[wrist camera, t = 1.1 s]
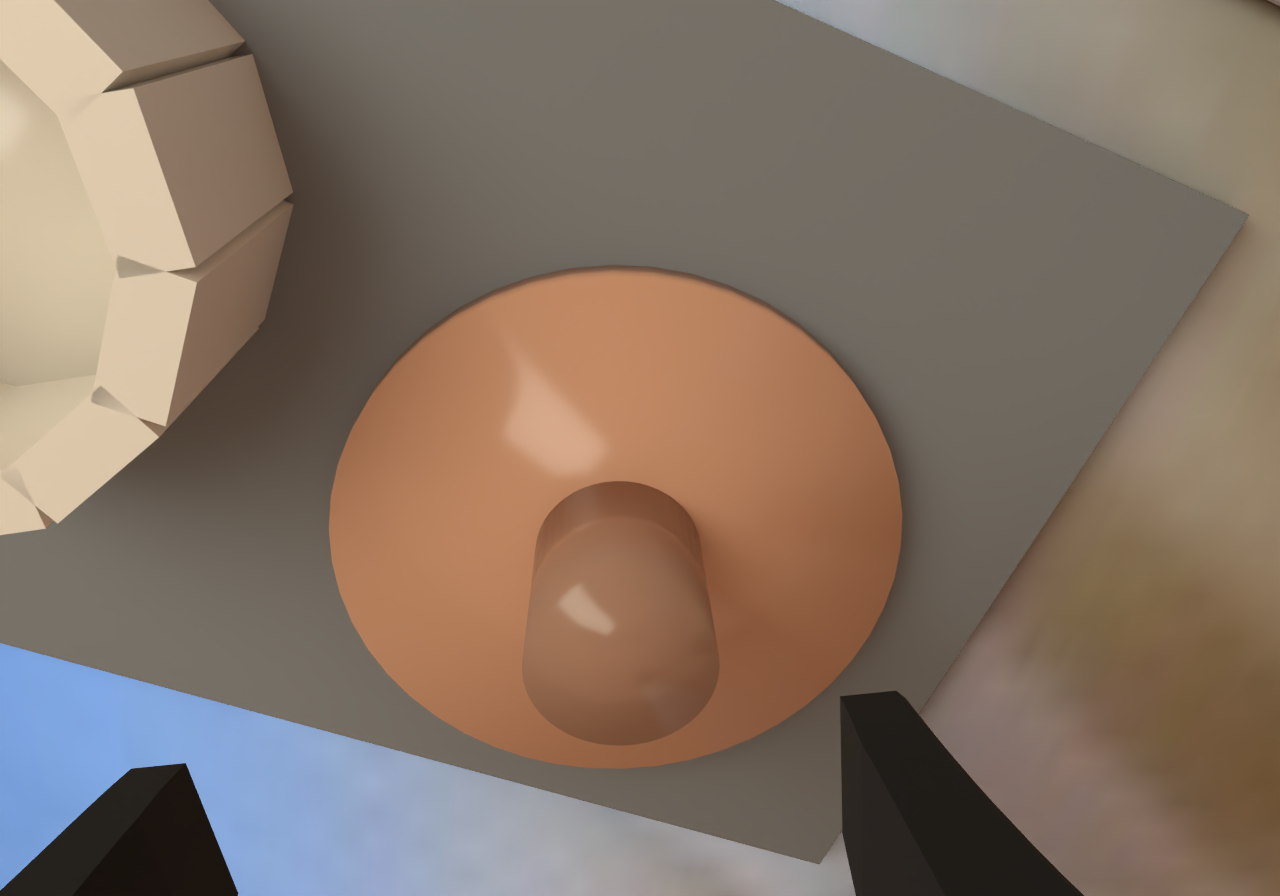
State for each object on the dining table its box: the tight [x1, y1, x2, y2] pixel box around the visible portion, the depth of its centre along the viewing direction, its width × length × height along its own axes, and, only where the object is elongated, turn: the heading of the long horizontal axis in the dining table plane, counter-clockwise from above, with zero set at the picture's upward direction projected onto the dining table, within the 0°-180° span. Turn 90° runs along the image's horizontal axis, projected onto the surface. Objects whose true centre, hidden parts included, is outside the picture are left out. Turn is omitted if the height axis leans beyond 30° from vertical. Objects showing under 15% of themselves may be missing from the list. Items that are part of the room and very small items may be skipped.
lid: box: [329, 265, 902, 769], centre depth 18 cm, size 11×11×4 cm
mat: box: [0, 0, 1249, 864], centre depth 19 cm, size 28×17×1 cm, turn 68°
